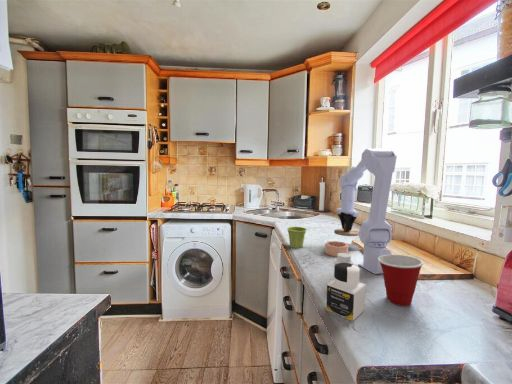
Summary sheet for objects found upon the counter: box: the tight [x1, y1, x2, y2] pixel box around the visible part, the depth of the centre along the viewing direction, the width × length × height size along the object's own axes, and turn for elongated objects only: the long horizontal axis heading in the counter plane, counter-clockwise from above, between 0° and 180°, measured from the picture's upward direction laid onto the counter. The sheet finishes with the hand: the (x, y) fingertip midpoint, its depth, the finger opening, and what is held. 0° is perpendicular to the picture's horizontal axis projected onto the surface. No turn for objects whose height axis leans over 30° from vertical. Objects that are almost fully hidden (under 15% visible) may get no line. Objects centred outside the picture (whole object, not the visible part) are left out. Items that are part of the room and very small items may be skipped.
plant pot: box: [286, 226, 307, 249], centre depth 119 cm, size 9×9×9 cm
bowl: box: [324, 240, 349, 258], centre depth 108 cm, size 9×9×4 cm
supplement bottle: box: [333, 253, 354, 267], centre depth 77 cm, size 6×6×10 cm
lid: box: [333, 223, 359, 237], centre depth 115 cm, size 11×11×5 cm
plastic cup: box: [378, 254, 424, 307], centre depth 69 cm, size 11×11×12 cm
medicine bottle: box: [326, 263, 366, 322], centre depth 64 cm, size 7×7×12 cm
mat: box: [347, 243, 362, 252], centre depth 117 cm, size 12×12×1 cm
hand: (346, 229), depth 115 cm, fingers closed on lid, 3 cm apart
